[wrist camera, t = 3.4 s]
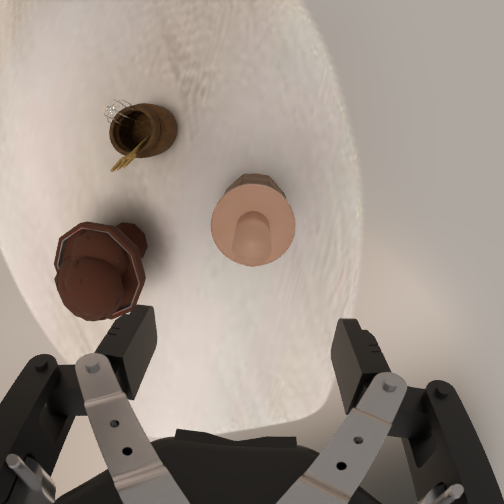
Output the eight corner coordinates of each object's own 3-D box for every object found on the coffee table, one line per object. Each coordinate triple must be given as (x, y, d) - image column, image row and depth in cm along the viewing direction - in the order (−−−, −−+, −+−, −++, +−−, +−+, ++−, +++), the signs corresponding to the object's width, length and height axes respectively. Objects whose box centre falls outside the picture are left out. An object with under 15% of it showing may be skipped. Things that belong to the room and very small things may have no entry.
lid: (213, 181, 26) (201, 195, 21) (297, 186, 26) (308, 201, 21) (212, 259, 29) (201, 289, 23) (289, 263, 29) (296, 295, 23)
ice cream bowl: (121, 183, 35) (51, 217, 21) (184, 245, 38) (145, 310, 24) (79, 240, 38) (13, 291, 24) (136, 295, 41) (91, 365, 27)
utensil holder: (172, 99, 32) (132, 85, 20) (184, 150, 34) (149, 159, 23) (126, 114, 32) (73, 111, 21) (138, 163, 34) (89, 179, 23)
